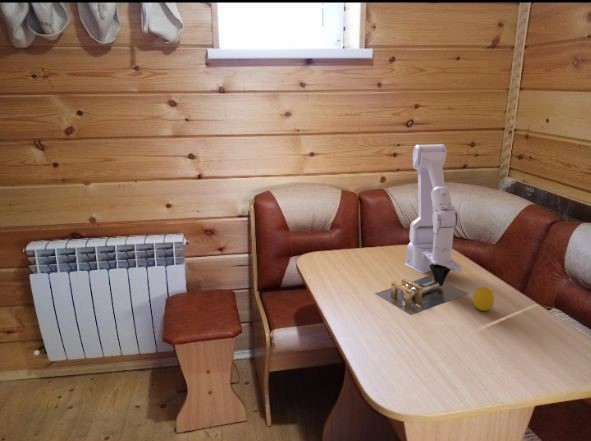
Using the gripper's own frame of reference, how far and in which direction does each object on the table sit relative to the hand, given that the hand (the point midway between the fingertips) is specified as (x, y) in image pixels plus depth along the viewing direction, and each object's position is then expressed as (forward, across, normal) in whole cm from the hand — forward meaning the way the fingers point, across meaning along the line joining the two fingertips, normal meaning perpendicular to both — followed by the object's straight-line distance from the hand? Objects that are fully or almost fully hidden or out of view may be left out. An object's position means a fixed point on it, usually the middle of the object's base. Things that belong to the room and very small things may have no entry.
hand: (439, 285), depth 154 cm
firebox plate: (+1, 0, -8) cm, 8 cm away
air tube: (+1, 0, -8) cm, 8 cm away
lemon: (+2, +17, 0) cm, 17 cm away
